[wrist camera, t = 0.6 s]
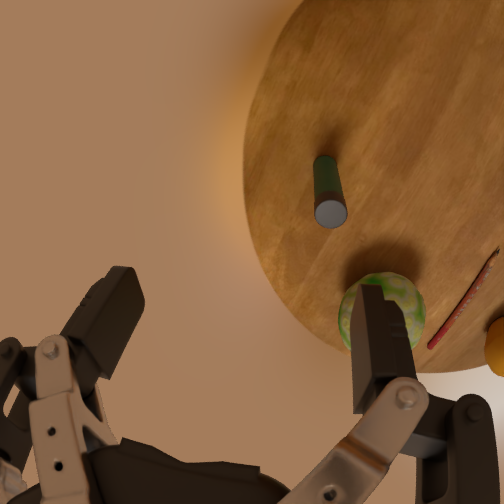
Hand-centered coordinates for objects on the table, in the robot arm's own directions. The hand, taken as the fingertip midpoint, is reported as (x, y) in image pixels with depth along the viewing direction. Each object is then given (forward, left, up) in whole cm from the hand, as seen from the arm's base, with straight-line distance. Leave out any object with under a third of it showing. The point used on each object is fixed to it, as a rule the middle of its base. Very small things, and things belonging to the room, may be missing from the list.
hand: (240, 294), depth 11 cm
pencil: (+31, +7, -21) cm, 38 cm away
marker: (+5, +1, -20) cm, 21 cm away
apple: (+41, +12, -21) cm, 47 cm away
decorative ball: (+21, -2, -21) cm, 29 cm away
